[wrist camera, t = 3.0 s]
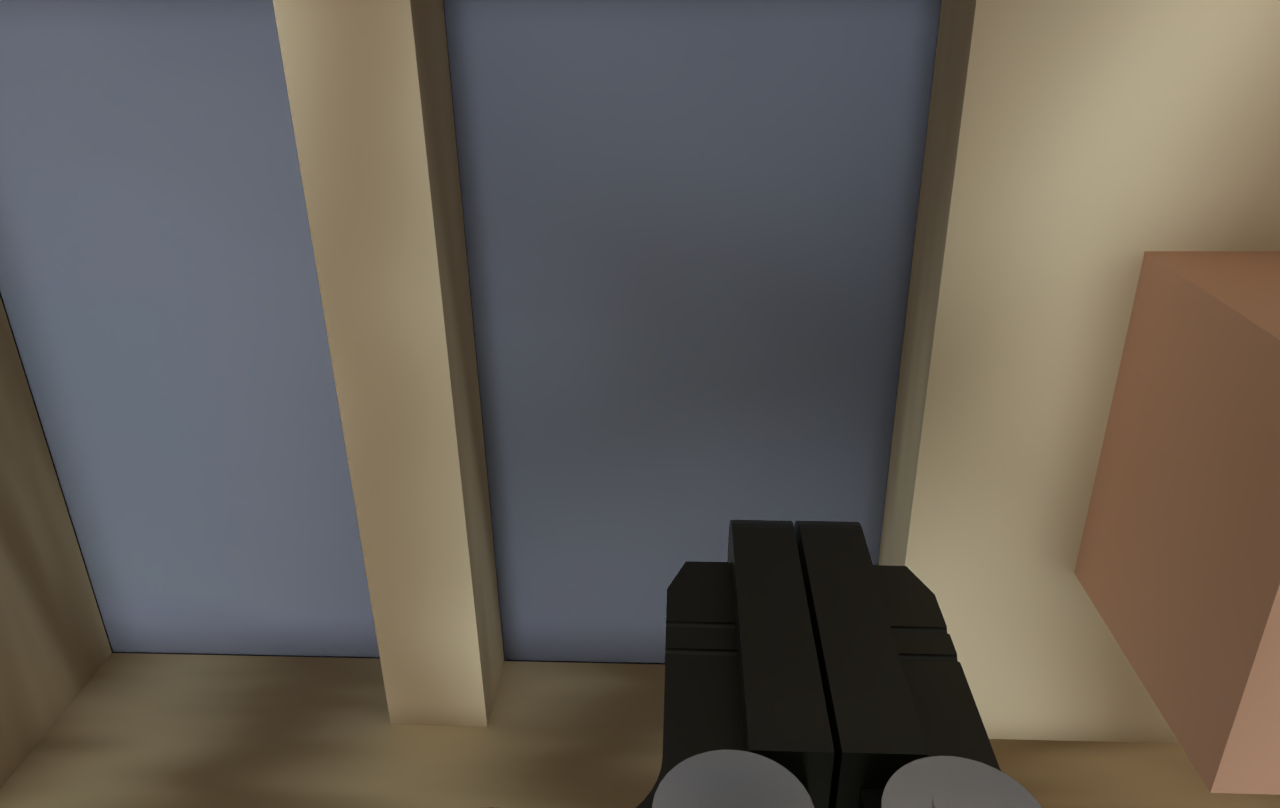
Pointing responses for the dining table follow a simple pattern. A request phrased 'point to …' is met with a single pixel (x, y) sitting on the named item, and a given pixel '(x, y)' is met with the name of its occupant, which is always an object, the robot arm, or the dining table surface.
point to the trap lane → (456, 465)
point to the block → (1197, 509)
